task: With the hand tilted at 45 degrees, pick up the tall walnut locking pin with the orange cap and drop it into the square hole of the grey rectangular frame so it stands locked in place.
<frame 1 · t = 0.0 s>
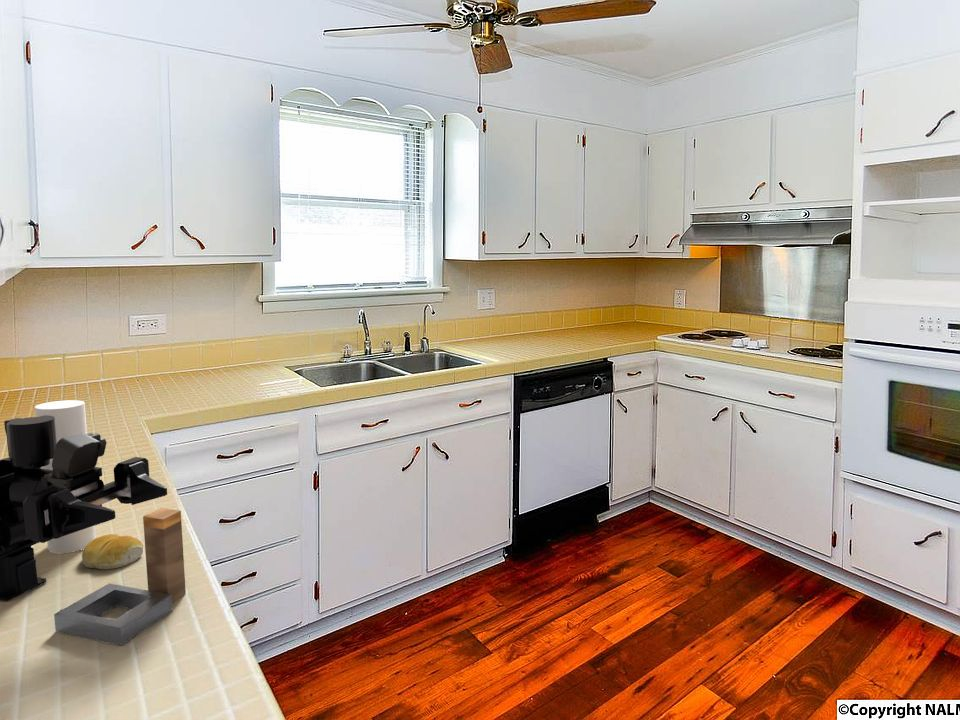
hand: (141, 502, 91), 17 cm above the countertop, tool horizontal, fingers open, 9 cm apart
grey rectangular frame: (115, 621, 92), on the countertop
walnut locking pin: (167, 597, 98), on the countertop
cylindrical container: (72, 546, 116), on the countertop
bread roll: (113, 560, 111), on the countertop
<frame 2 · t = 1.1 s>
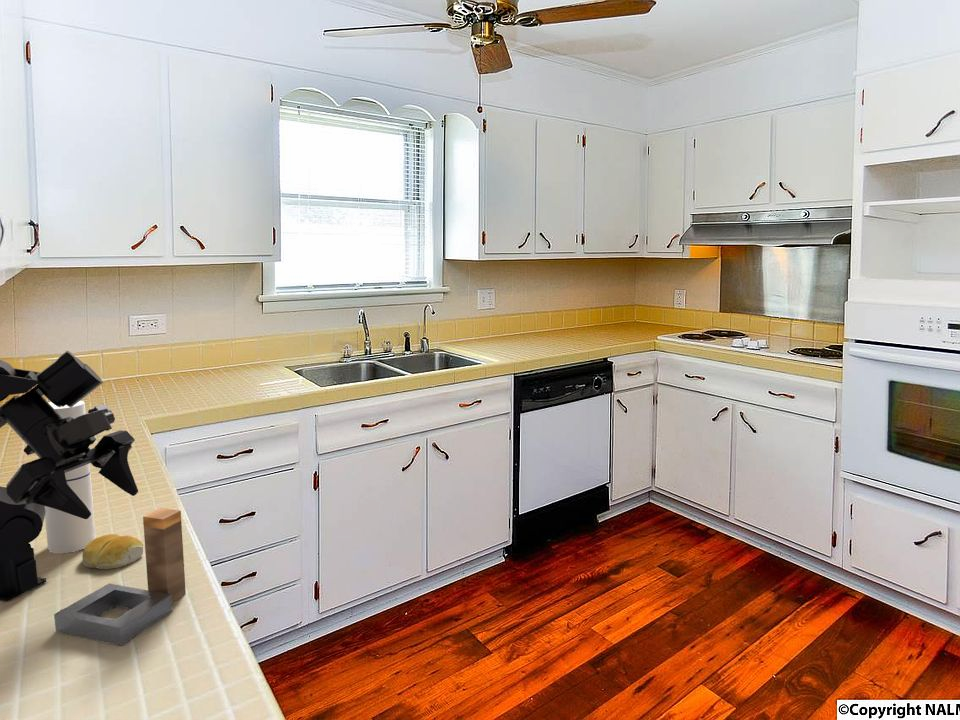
hand: (113, 504, 98), 14 cm above the countertop, tool tilted 45°, fingers open, 9 cm apart
nothing on the countertop moved.
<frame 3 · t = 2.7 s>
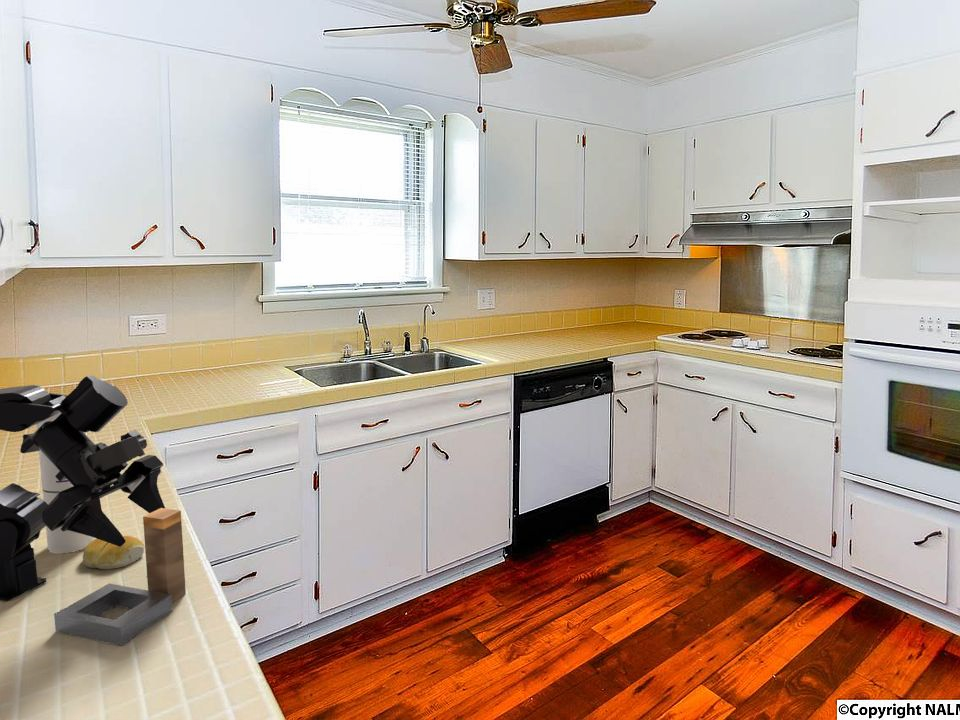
hand: (145, 531, 98), 10 cm above the countertop, tool tilted 45°, fingers open, 9 cm apart
nothing on the countertop moved.
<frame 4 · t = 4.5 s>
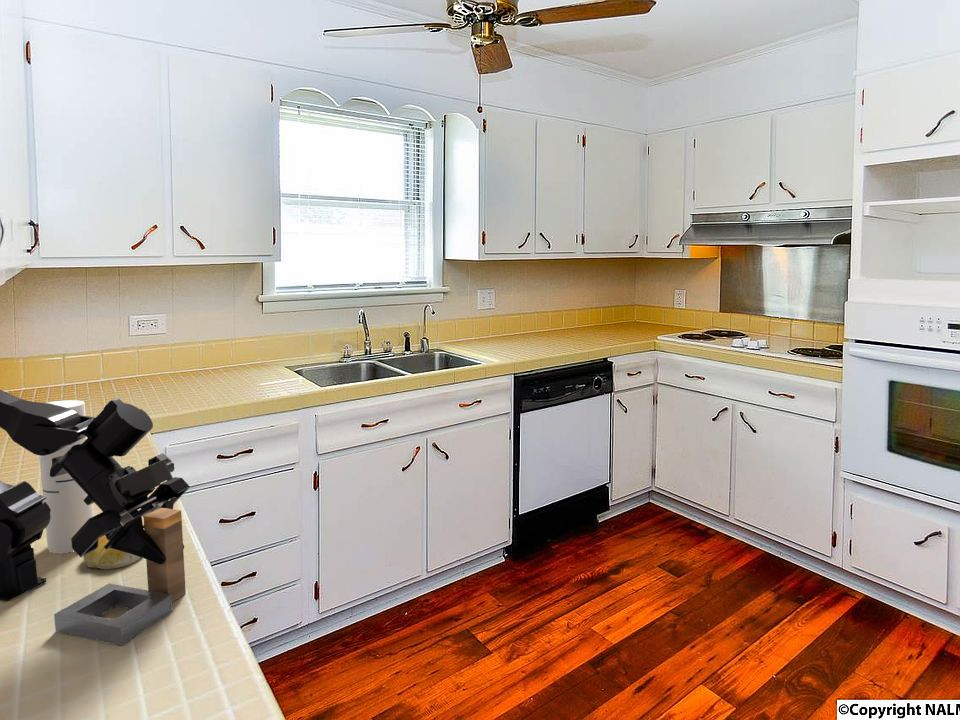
hand: (173, 556, 97), 7 cm above the countertop, tool tilted 45°, fingers closed on walnut locking pin, 4 cm apart
walnut locking pin: (167, 597, 98), on the countertop, touching gripper
everything else where it was.
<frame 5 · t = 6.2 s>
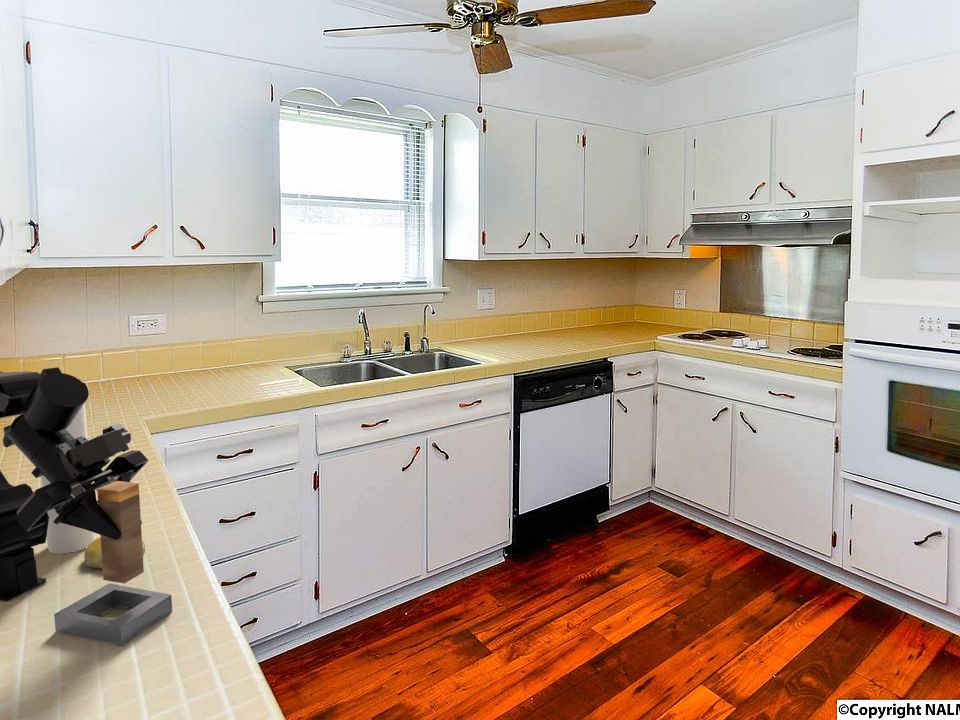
hand: (129, 531, 91), 12 cm above the countertop, tool tilted 45°, fingers closed on walnut locking pin, 4 cm apart
walnut locking pin: (123, 576, 92), point 6 cm above the countertop, touching gripper
everything else where it was.
when the fingers open (8 cm above the countertop, at t = 8.0 s): walnut locking pin drops 1 cm, resting in grey rectangular frame.
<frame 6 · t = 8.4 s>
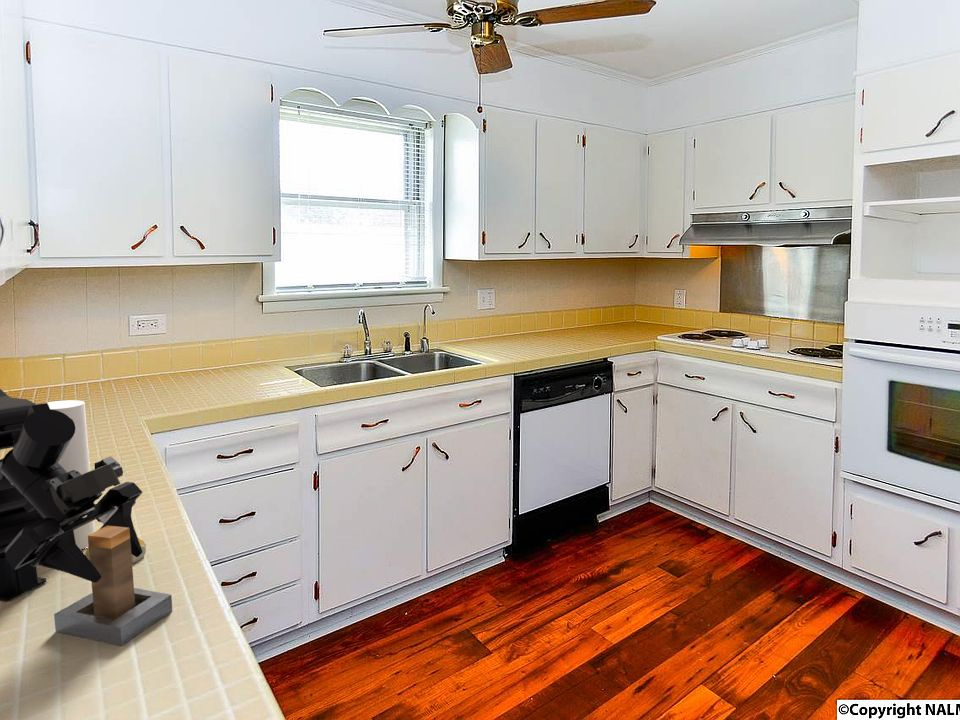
hand: (120, 567, 90), 8 cm above the countertop, tool tilted 45°, fingers open, 7 cm apart
walnut locking pin: (115, 621, 92), resting in grey rectangular frame
everything else where it was.
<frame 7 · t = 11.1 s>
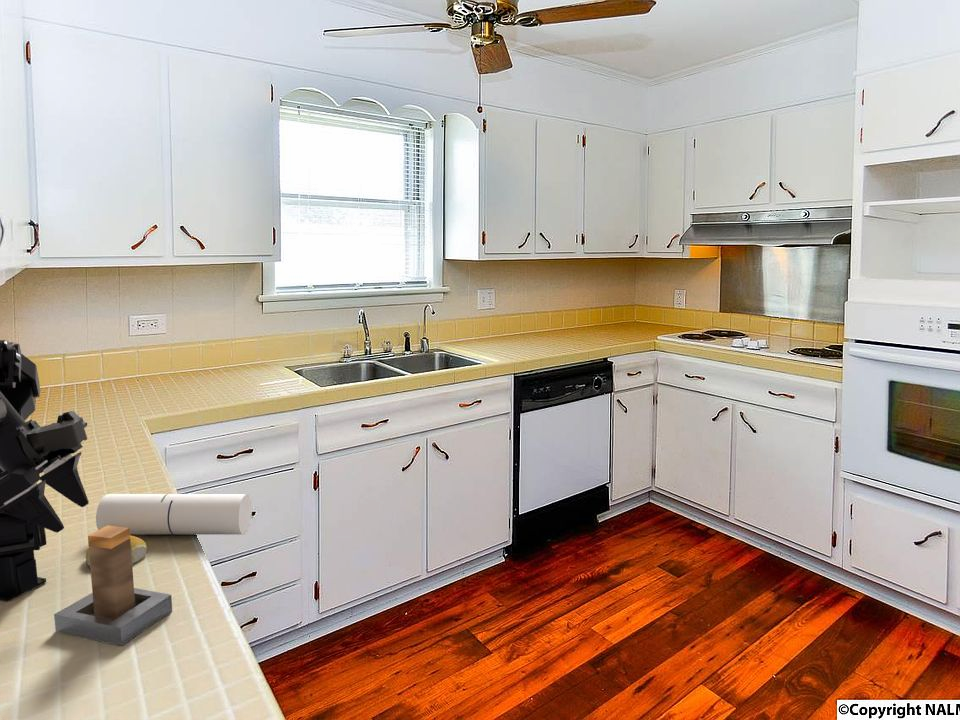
hand: (73, 517, 95), 13 cm above the countertop, tool tilted 30°, fingers open, 9 cm apart
cylindrical container: (105, 513, 121), point 4 cm above the countertop
everything else where it was.
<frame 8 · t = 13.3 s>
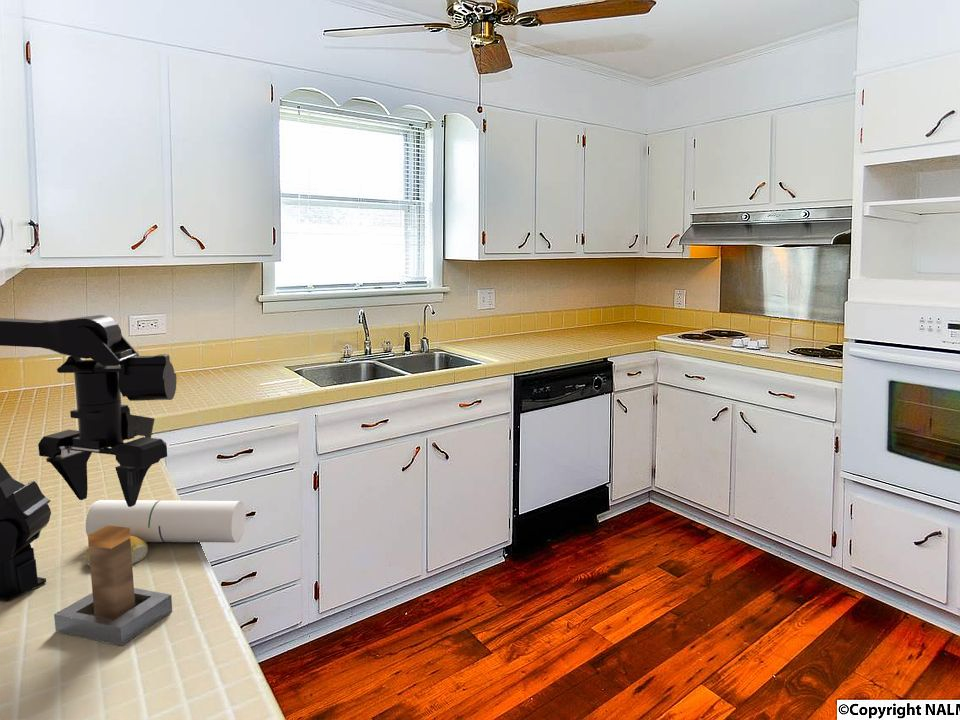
hand: (107, 502, 100), 13 cm above the countertop, tool pointing down, fingers open, 9 cm apart
cylindrical container: (96, 520, 118), point 4 cm above the countertop
everything else where it was.
at the end: walnut locking pin 0.0 cm off-centre on the grey rectangular frame, point 0.0 cm above the grey rectangular frame's base; walnut locking pin tilted 0°; the gripper is holding nothing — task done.
